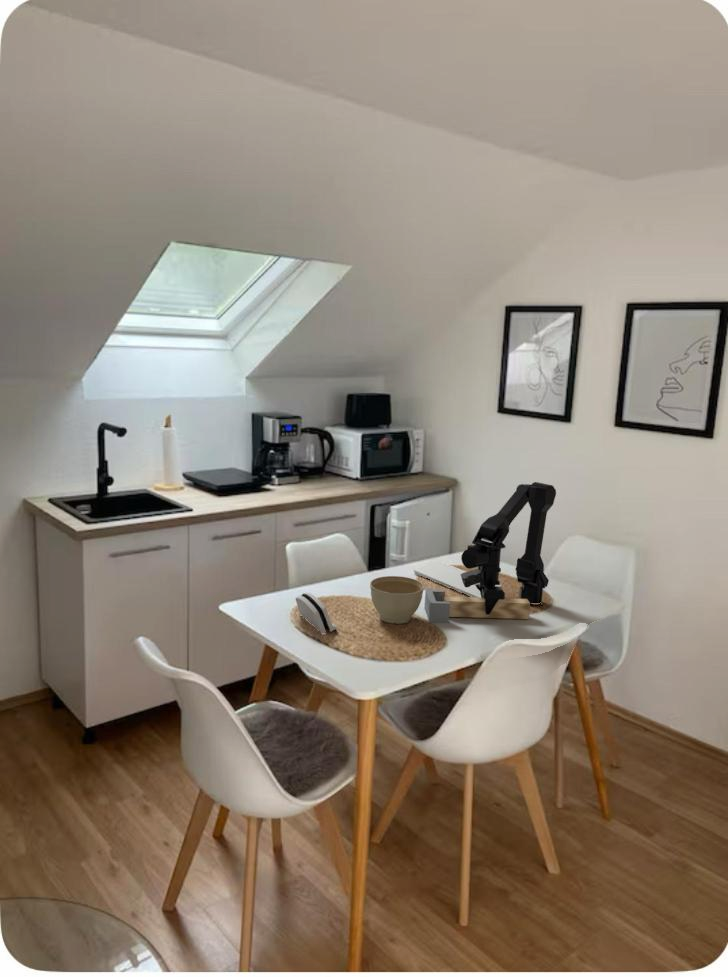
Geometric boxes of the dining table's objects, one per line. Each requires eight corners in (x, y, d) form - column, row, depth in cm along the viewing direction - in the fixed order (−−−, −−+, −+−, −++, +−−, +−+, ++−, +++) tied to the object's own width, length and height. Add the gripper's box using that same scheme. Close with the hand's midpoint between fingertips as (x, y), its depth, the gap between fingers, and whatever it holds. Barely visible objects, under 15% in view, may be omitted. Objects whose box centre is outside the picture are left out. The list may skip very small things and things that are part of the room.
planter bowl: (360, 623, 222) (362, 588, 220) (378, 606, 237) (380, 573, 235) (413, 632, 217) (415, 596, 214) (428, 614, 231) (430, 580, 229)
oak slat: (525, 614, 234) (527, 598, 233) (529, 618, 230) (530, 603, 229) (443, 611, 233) (444, 596, 232) (444, 616, 229) (446, 600, 228)
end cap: (443, 608, 237) (444, 590, 236) (448, 622, 225) (450, 603, 224) (424, 607, 237) (425, 589, 236) (429, 621, 225) (430, 602, 224)
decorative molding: (482, 610, 245) (503, 597, 250) (480, 597, 244) (501, 585, 249) (415, 581, 272) (435, 570, 277) (413, 569, 271) (433, 559, 276)
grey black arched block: (339, 632, 214) (329, 602, 211) (324, 640, 212) (314, 610, 209) (315, 612, 229) (305, 584, 225) (301, 619, 227) (291, 591, 223)
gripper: (458, 553, 237) (455, 600, 240) (469, 571, 219) (465, 622, 222) (493, 554, 238) (489, 601, 241) (507, 572, 219) (502, 623, 222)
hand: (486, 611), depth 231 cm, fingers closed on oak slat, 4 cm apart
